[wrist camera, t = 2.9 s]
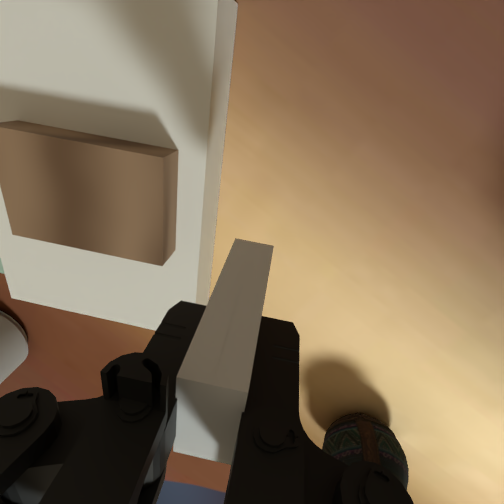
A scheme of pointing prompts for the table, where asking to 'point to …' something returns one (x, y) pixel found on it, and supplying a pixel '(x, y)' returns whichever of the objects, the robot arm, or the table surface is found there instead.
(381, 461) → the mate gourd
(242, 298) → the robot arm
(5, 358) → the can
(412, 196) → the table surface
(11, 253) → the white flat block
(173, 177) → the brown wooden slab
